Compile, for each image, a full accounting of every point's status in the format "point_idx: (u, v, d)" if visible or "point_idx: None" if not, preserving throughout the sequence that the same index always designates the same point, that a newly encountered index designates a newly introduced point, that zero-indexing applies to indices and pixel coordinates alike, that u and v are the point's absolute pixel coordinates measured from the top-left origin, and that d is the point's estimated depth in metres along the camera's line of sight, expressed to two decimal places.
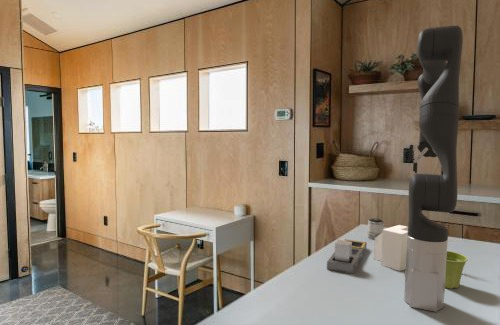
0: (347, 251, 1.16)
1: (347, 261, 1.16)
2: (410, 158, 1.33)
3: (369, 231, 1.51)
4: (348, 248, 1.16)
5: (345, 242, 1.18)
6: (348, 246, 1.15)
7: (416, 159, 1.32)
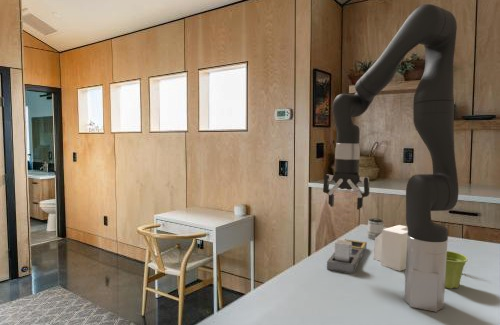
0: (347, 251, 1.16)
1: (347, 261, 1.16)
2: (325, 190, 1.19)
3: (369, 231, 1.51)
4: (348, 248, 1.16)
5: (345, 242, 1.18)
6: (348, 246, 1.15)
7: (331, 191, 1.18)
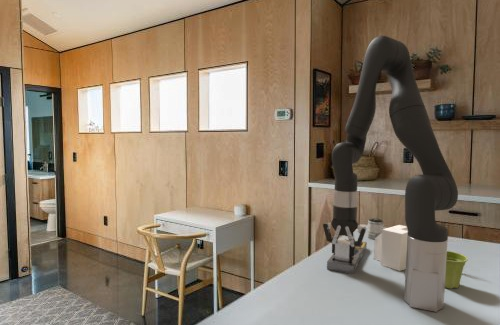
0: (347, 251, 1.16)
1: (347, 261, 1.16)
2: (328, 238, 1.19)
3: (369, 231, 1.51)
4: (348, 248, 1.16)
5: (345, 242, 1.18)
6: (348, 246, 1.15)
7: (335, 240, 1.18)
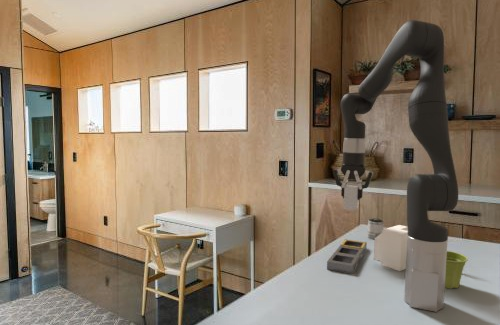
0: (355, 193, 1.27)
1: (355, 202, 1.28)
2: (338, 183, 1.31)
3: (369, 231, 1.51)
4: (356, 190, 1.27)
5: (353, 186, 1.30)
6: (356, 188, 1.27)
7: (344, 184, 1.30)
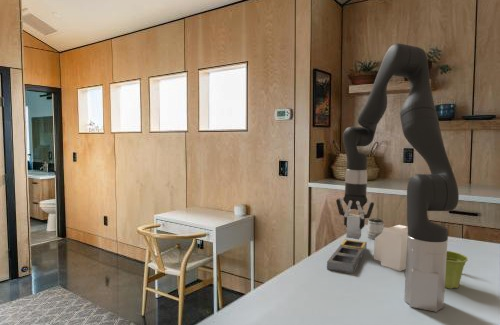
0: (358, 222, 1.31)
1: (358, 231, 1.32)
2: (341, 212, 1.35)
3: (369, 231, 1.51)
4: (359, 220, 1.31)
5: (355, 215, 1.34)
6: (359, 218, 1.31)
7: (346, 214, 1.34)
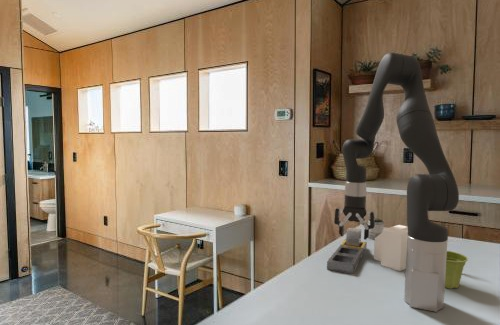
0: (357, 237, 1.32)
1: (357, 246, 1.32)
2: (336, 221, 1.36)
3: (369, 231, 1.51)
4: (358, 234, 1.32)
5: (355, 229, 1.34)
6: (358, 233, 1.32)
7: (341, 223, 1.35)
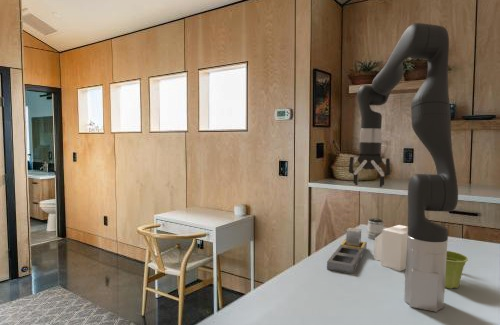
0: (357, 237, 1.32)
1: (357, 246, 1.32)
2: (350, 170, 1.34)
3: (369, 231, 1.51)
4: (358, 234, 1.32)
5: (355, 229, 1.34)
6: (358, 233, 1.32)
7: (356, 171, 1.33)
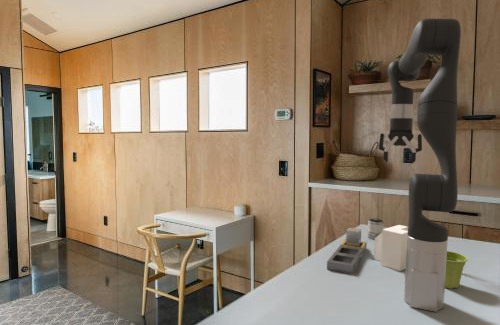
0: (357, 237, 1.32)
1: (357, 246, 1.32)
2: (381, 147, 1.33)
3: (369, 231, 1.51)
4: (358, 234, 1.32)
5: (355, 229, 1.34)
6: (358, 233, 1.32)
7: (386, 148, 1.32)
